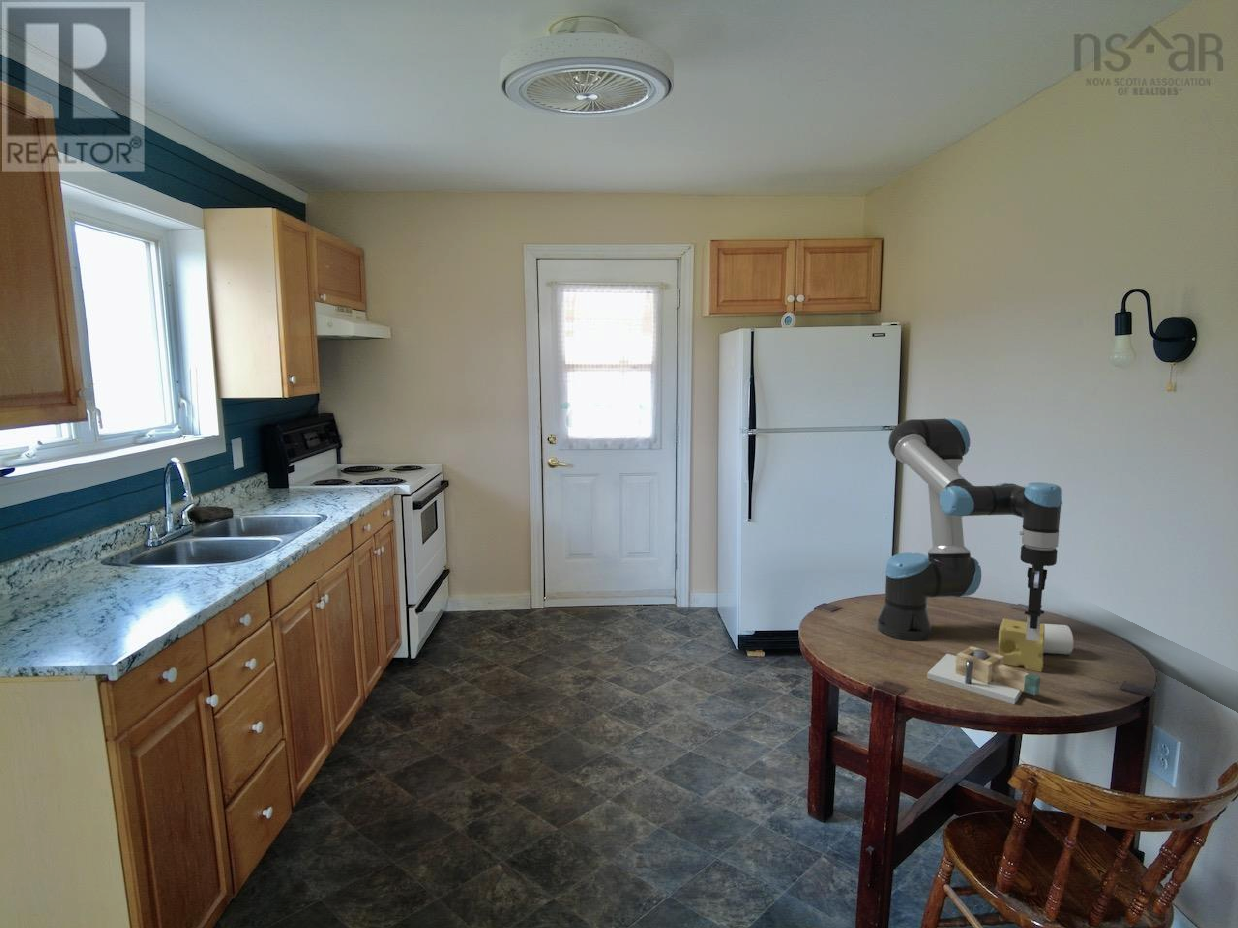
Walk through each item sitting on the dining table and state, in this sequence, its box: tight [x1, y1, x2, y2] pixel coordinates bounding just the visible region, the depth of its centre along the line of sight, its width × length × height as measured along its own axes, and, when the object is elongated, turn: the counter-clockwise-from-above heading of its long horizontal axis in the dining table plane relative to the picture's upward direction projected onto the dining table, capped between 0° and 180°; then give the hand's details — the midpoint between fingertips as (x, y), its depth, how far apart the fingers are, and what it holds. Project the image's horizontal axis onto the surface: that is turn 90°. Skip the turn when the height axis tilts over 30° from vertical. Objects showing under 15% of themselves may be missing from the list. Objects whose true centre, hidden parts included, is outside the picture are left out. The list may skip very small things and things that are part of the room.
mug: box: [1040, 622, 1074, 656], centre depth 189 cm, size 12×10×8 cm
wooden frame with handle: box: [955, 645, 1041, 696], centre depth 168 cm, size 18×8×5 cm, turn 37°
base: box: [926, 649, 1024, 705], centre depth 171 cm, size 20×16×8 cm
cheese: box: [998, 617, 1045, 673], centre depth 182 cm, size 10×11×10 cm
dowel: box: [965, 661, 973, 684], centre depth 167 cm, size 1×1×6 cm
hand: (1032, 639), depth 166 cm, fingers closed
